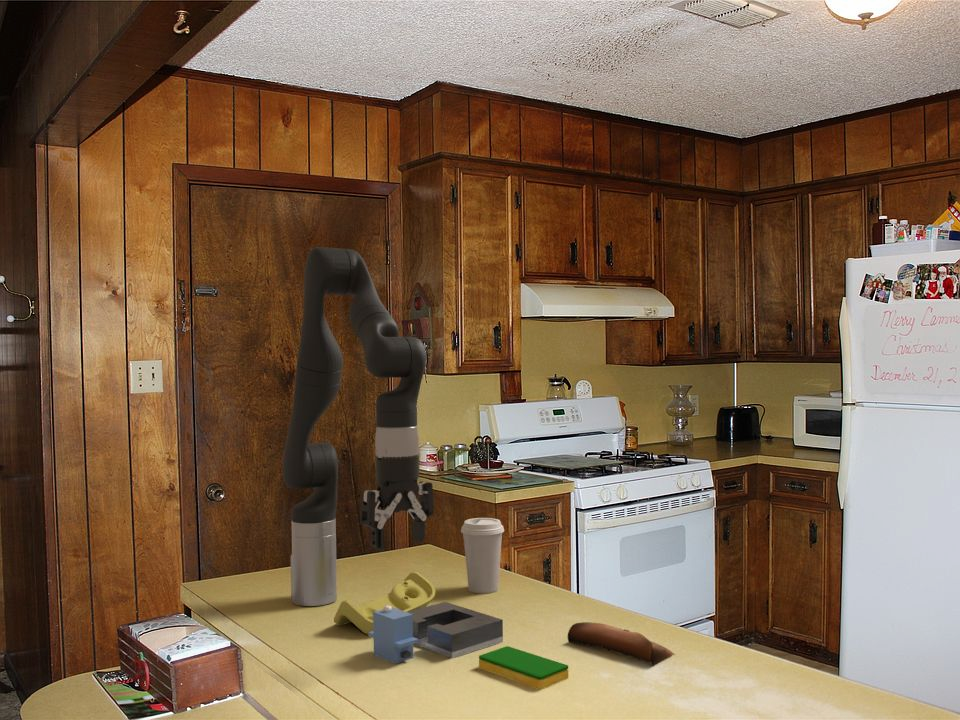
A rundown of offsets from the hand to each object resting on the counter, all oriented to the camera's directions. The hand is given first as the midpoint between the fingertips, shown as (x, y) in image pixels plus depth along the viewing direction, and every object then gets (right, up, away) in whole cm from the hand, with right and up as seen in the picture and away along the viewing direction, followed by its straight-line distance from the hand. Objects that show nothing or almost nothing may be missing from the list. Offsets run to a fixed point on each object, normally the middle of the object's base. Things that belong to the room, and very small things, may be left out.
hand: (398, 546), depth 152 cm
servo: (-1, -19, 0) cm, 19 cm away
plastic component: (-4, -19, +20) cm, 28 cm away
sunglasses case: (+39, -19, +2) cm, 43 cm away
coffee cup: (+15, -18, +41) cm, 47 cm away
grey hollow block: (+8, -19, +8) cm, 22 cm away
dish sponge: (+21, -19, -9) cm, 30 cm away
